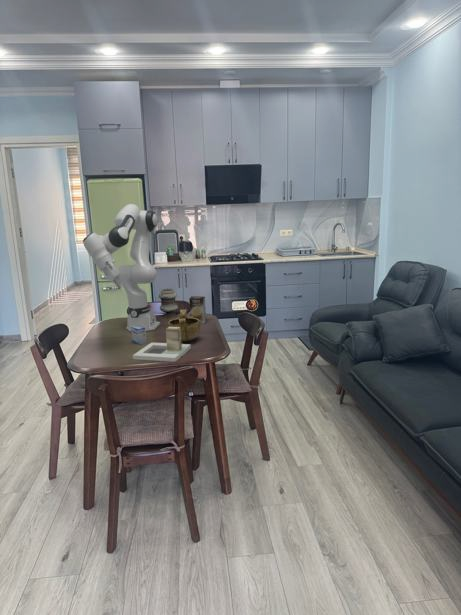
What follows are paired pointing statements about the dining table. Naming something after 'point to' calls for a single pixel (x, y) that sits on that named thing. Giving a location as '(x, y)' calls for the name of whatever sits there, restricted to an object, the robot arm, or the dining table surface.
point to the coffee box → (198, 308)
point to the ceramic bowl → (186, 326)
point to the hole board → (160, 352)
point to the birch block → (173, 339)
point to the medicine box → (138, 334)
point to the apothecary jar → (168, 302)
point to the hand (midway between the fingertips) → (121, 287)
